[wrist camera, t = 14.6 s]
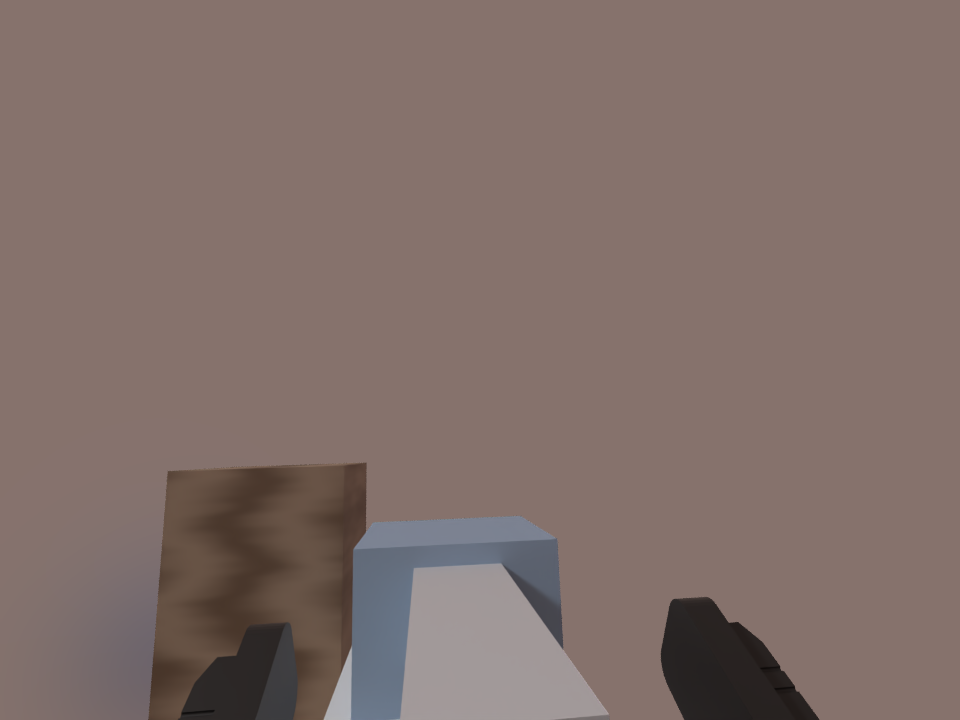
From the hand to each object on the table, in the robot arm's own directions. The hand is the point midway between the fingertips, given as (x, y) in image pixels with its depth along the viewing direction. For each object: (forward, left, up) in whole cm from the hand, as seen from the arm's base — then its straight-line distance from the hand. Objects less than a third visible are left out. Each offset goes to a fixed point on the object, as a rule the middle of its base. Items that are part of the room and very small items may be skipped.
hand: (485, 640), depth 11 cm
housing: (0, +7, -6) cm, 9 cm away
